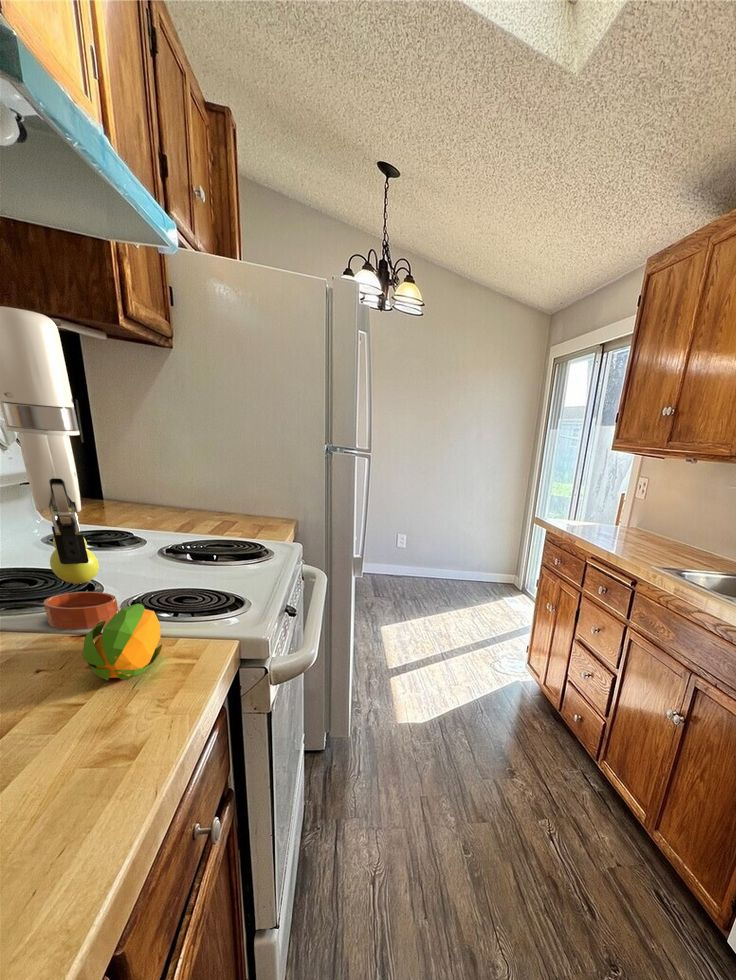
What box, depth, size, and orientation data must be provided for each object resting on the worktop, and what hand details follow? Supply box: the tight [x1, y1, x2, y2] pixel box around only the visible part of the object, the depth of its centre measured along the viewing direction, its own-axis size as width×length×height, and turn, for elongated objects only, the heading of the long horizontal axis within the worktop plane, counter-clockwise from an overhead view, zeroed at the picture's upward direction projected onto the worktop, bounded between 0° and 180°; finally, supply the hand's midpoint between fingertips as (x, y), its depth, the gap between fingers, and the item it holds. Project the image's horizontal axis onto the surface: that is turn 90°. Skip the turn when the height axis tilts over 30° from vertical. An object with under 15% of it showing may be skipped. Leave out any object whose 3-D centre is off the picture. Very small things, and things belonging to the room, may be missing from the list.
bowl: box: [43, 591, 120, 638], centre depth 83 cm, size 9×9×4 cm
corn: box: [82, 603, 163, 681], centre depth 74 cm, size 7×8×20 cm
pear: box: [49, 532, 100, 585], centre depth 80 cm, size 6×6×9 cm
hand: (73, 557), depth 80 cm, fingers closed on pear, 5 cm apart
